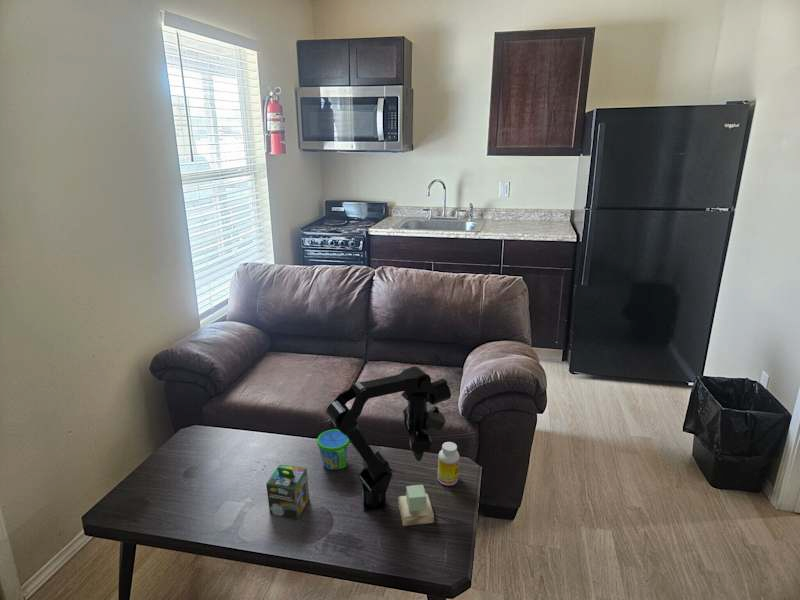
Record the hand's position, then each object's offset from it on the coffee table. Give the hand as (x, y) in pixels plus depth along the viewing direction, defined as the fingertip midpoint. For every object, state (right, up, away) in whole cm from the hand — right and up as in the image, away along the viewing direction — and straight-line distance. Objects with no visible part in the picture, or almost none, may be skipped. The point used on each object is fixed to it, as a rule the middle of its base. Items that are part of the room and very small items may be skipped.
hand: (416, 451), depth 159 cm
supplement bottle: (+10, -12, +8) cm, 17 cm away
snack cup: (-27, -9, +14) cm, 32 cm away
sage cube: (0, -14, -8) cm, 16 cm away
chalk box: (-38, -15, -5) cm, 42 cm away
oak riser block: (0, -16, -7) cm, 18 cm away
